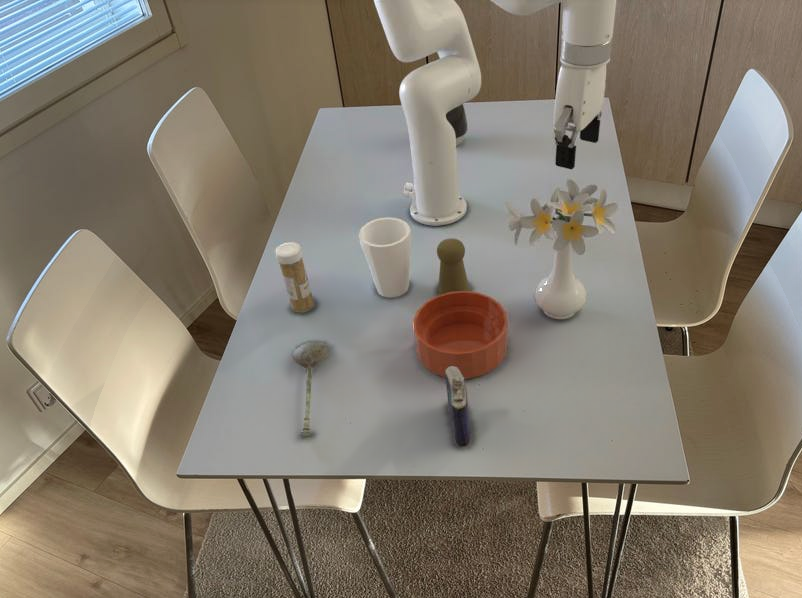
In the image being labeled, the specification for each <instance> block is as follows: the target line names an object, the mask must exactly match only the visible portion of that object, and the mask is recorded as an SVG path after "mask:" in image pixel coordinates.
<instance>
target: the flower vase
mask: <svg viewBox="0 0 802 598" xmlns="http://www.w3.org/2000/svg"><path fill="white" fill-rule="evenodd" d="M565 187H566V189H567V191H565V190H561V187H559V186H558V187H556V189H555V190H554V191H553V193H552V195H551V198H550V201H548V202H546V203H544V204H542V205H541V203H540V202H539V200H538V199H536V198H531V200H530V210H531V213H532V215H526V216H524V215H523V214H522V213H521V212H520V211H519V210H517V208H515V207H514V206H513V205H512V204H511V203H510V202H509V201H508V200H505V205H506V208H507V211H508V212H509V214H510V215H511V216H512V217H510V218H509V220H508V229H509V230H510V232H513V231H514V245H515V246H517V243H518V241H519V238H520V234H521V232H522V230H523V229H527V230H531V229H532V231H531V233H530V235H529V239H528V243H529V245H530V247H535V246H536V245H537V243H539V241H540V239H541V238H542V236H543V237H545V238H546V239H547V240H550V241H551V240H553V239H554V243H553V245H552V249H553V250H554V255H553V261H552V262H553V263H552V268H551V271H550V272H549V274H548V275H546V276H545V277H543V278H542V279H541V280H540V281H539V283H538V284H537V286H536V288H535V291H534V300H535V303H536V304H537V306H538V307H539V309H540V310H542V311H543V313H544V314H545V315H546V316H547V317H549V318H551V319H553V320H566V319H569V318H572V317H573V316H574V315H575V314H576V313H577V312H579V311H580V310H581V309H582V308H583V306H584V305H585V303H586V302H587V290H586V287H585V286H584V284H583V282H582V281H581V280H580V279H579V278H578V277H576V275H575V273H574V270H573V251H574V253H576V254H577V255H579V256H582V255H584V254H585V253H586V243H585V240H584V238H593V237H595V236H597V235H598V236H601V235H602V234H603V231H604V229H605V230H606V231H608V233H610V234H611V235H615V234H616V232H617V231H616V226H615V224H614V222H613V221H612V220H611V219H610V217H612V216H614V215H615V214H616V213H617V212H618V210H619V204H618V203H617V202H609V203H607V195H608V194H607V191H606V189H605V188H602V189H601V190H600V192H599V195H598V198H597V197H592V196H593V194H594V193H596V192H597V190H598V185H596V184H588V185H586V186H584V187H583V188H581V190H580V187H579V185H578V183H577V182H575V180H573V179H571V178H568V179H567V180H565ZM590 211H591V213H587V212H590ZM555 215H557V216H556V217H555ZM585 217H590V218H591V217H592V219H593V222H594V225H586V224H585V225H584V224H583V223H584V220H585Z"/></svg>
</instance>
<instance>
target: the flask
mask: <svg viewBox="0 0 802 598" xmlns="http://www.w3.org/2000/svg"><path fill="white" fill-rule="evenodd" d="M444 378H445V385H446V395H447V396H446V397H447V404H448V405H447V408H448V414H449V415H450V424H451V426H452V427H453V435H454V436H453V437H454V444H456V445H457V446H458V447H459V448H462V447H464V448H465V447H467V446H469V445H470V444H471V440H472V435H471V433H472V431H471V424H470V414H469V401H468V400H469V399H468V390H467V384H466V381H465V378H464V377H463V376H462V374H461V372H460V370H459V369H458V368H457V367H454V366H450V367H448V368H447V369H445V377H444Z"/></svg>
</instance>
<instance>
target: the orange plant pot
mask: <svg viewBox="0 0 802 598" xmlns="http://www.w3.org/2000/svg"><path fill="white" fill-rule="evenodd" d="M507 315H508V314H507V312H506V310H505V309H504V307H503V306H502V304H501V303H500V302H498V301H497V300H496V299H495V298H493V297H491V296H489V295H486V294H484V293H481V292H477V291H471V290H469V291H456V292H448V293H445V294H441V295H439V294H438V295H436V296H434V297H432V298H430V299H429V300H427V301H425V302H424V303H423V304H422V305H421V306H420V307H419V308H418V309H417V310H416V313H415V315H414V317H413V319H412V326H413V328H412V329H413V337H414V343H415V352H416V353H415V354H416V356H417V358H418V360H419V361H420V363H421V365H422V366H423V367H425V368H426V369H427V370H428V371H429V372H431V373H432V374H435V375H438V376H440V377H443V378H445V369H447V368H448V367H450V366H454V367H457V368H458V369H459V370H460V372H461V374H462V376H463V377H464V379H473V378H476V377H479V376H483V375H486V374H488V373H489V372H491V371H492V370H494V369H496V368H498V366H499V365H500V364H501V362H502V361H504V359H505V357H506V354H507V350H508V348H509V322H508V316H507Z"/></svg>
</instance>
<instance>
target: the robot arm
mask: <svg viewBox="0 0 802 598" xmlns="http://www.w3.org/2000/svg"><path fill="white" fill-rule="evenodd" d="M490 2H491V3H493V4H495V5H496V6H497V7H498V8H500V9H502V10H504V11H505V12H507V13H510V14H512V15H515V16H520V17H521V16H523V17H525V16H530V15H533V14H535V13H538V12H539V11H541V10H544V9H546V8H548V7H551V6H553V5H556V4H560V3H562V19H561V20H562V21H561V36H560V53H559V61H560V63H561V65H560V67H559V72H558V78H557V83H556V90H555V97H554V98H555V99H554V107H553V117H552V118H553V119H552V125H553V127H554V128H553V132H554V141H555V163H554V164H555V166H556V167H560V168H564V169H568V170H574V169H575V166H576V155H577V154H576V153H577V145H575V143H576V140H577V137H578V134H579V139H580V141H585V142H589V143H594V144H597V143H598V142H599V138H600V130H601V129H600V127H601V118H602V115H603V111H602V109H603V106H604V101H605V95H606V83H607V82H606V81H607V65H608V64H609V63H610V61H611V56H612V55H611V53H612V46H613V45H612V43H613V37H614V27H615V20H616V19H615V17H616V9H617V0H490ZM373 3H374V5H375V9H376V12H377V14H378V17H379V20H380V23H381V26H382V28H383V31H384V34H385V37H386V40H387V42H388V45H389V47H390V50H391V52H392V54H393V56H394V57H395V58H396V59H397V60H399V62H401V63H411V62H415V61H419V60H421V59H423V58H426V57H428V56H431V55H433V54H435V53H437V55H438V57H439V58H438V59H436V60H433V61H431V62H429V63H426V64H424V65H422V66H420V67H417V68H416V69H414V70H412V71H410V72H409V73H408V74H407V75H406V76H405V77H404V78H403V80H402V81H401V83H400V84H399V85H400V86H399V89H398V90H399V91H398V94H399V95H398V96H399V100H400V104H401V107H402V110H403V113H404V117H405V122H406V126H407V131H408V139H409V148H410V155H411V166H412V176H413V183H412V182H409V181H407V182H405V184H404V186H403V188H404V190H403V192H402V196H403V197H405V198H410V200H411V204H410V205H409V214H410V216H411V217H412V219H413V220H415V221H416V222H418V223H419V224H422V225H426V226H433V227H439V226H445V225H449V224H453V223H455V222H457V221H459V220H461V219H462V218H463V217H464V216H465V215H466V213H467V206H468V205H467V202H466V201H467V200H466V199H465V198H464V197H463V196H461V195H460V189H459V171H458V170H459V168H458V152H457V151H458V150H457V146H456V136H455V131H454V129H453V127H452V126H451V124H450V123H449V122H448V121H447V119H446V114H447V112H449V111H450V110H452V109H454V108H456V107H458V106H460V105H462V104H463V105H464V104H465V103H467V102H469V101H471V100H473V99H474V98H475V97H476V96H477V95H478V94H479V93H480V91H481V87H482V73H481V67H480V64H479V61H478V57H477V53H476V50H475V47H474V44H473V40H472V37H471V34H470V31H469V27H468V23H467V20H466V18H465V16H464V12H463V10H462V9H461V7H460V6H459V4H458V3H457V2H456V1H455V0H373ZM570 124H573V125H574V126H573V125H570ZM567 131H568V132H571V135H570V137H569V135H568V134H566V133H567Z"/></svg>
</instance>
